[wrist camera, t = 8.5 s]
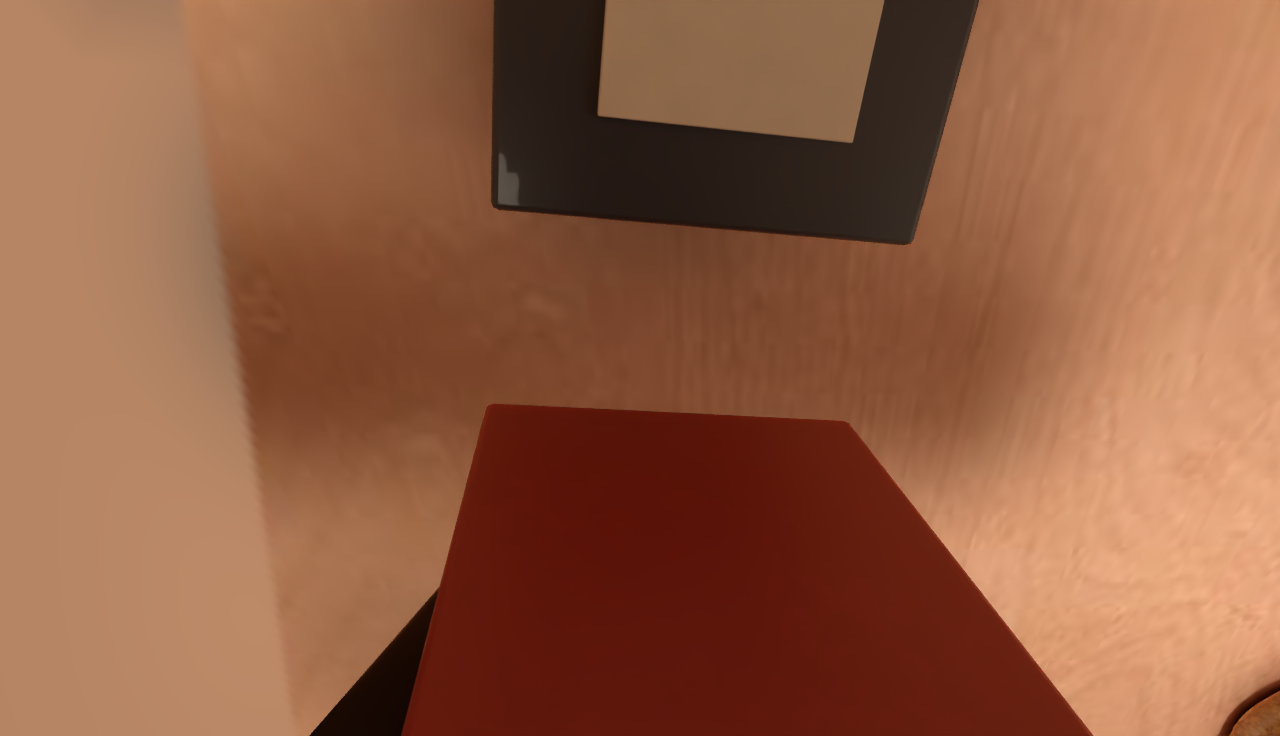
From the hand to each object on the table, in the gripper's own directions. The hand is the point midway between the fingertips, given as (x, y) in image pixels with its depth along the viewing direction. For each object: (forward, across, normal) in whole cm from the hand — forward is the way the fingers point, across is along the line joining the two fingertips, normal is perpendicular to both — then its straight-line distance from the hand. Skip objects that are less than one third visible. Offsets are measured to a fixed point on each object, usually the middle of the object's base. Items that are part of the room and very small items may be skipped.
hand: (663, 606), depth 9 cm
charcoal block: (+6, 0, -8) cm, 9 cm away
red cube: (+1, 0, 0) cm, 1 cm away
